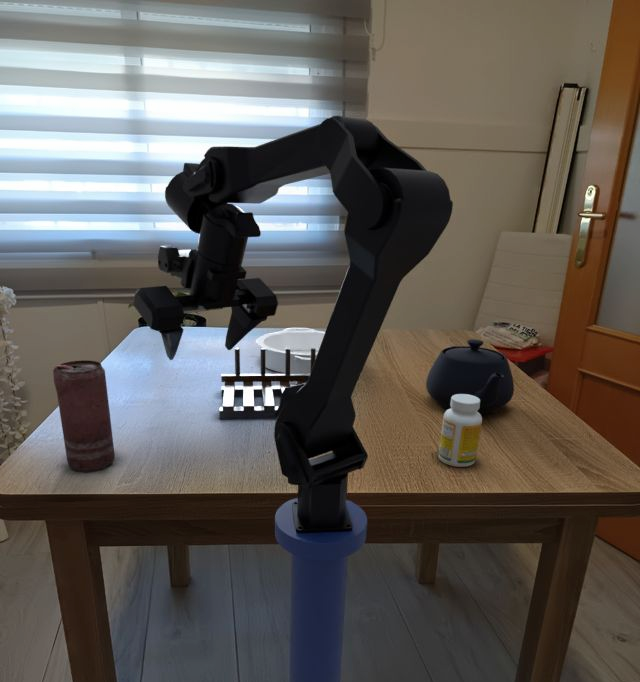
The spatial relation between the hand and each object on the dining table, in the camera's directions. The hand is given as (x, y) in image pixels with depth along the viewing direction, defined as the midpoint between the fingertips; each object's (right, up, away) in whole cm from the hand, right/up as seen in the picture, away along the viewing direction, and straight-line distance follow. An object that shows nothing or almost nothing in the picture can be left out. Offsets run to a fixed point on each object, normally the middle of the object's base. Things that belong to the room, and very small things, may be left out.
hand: (199, 352), depth 81 cm
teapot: (+44, -7, +25) cm, 51 cm away
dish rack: (+9, -7, +22) cm, 25 cm away
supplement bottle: (+37, -15, +3) cm, 40 cm away
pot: (+14, +4, +48) cm, 50 cm away
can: (-15, -16, -2) cm, 21 cm away
